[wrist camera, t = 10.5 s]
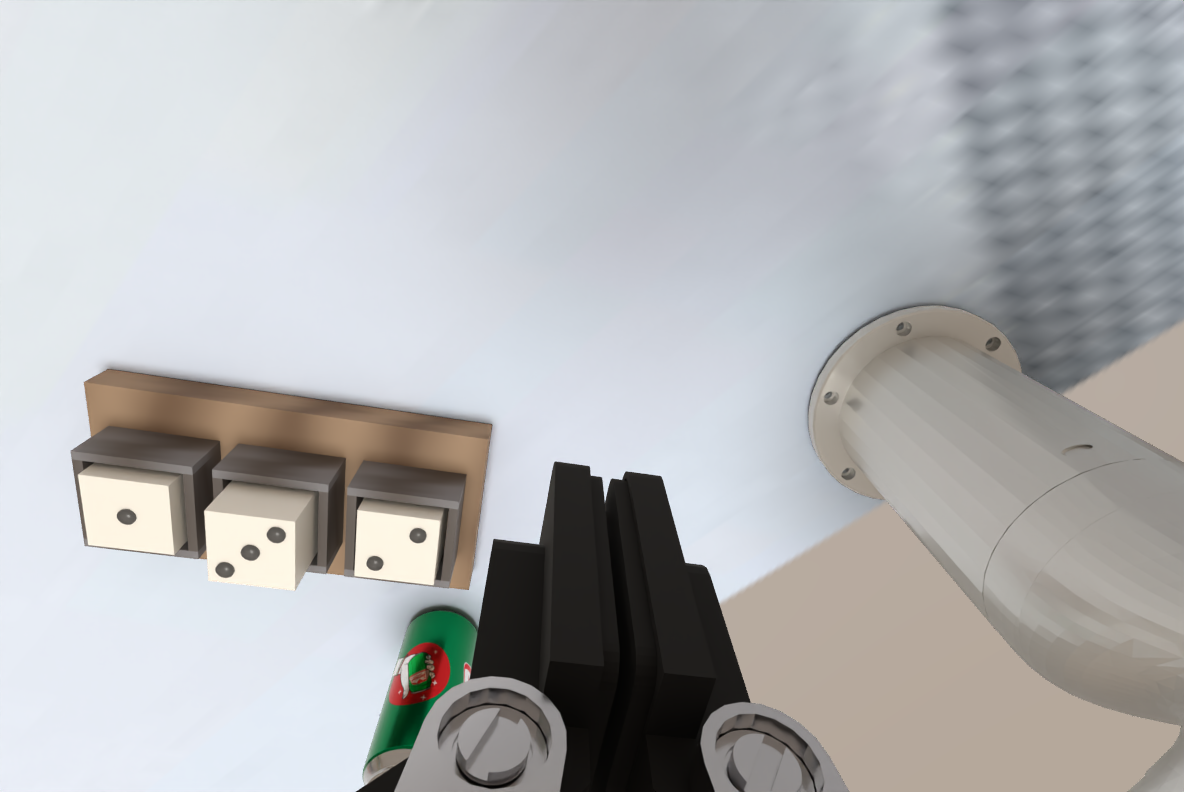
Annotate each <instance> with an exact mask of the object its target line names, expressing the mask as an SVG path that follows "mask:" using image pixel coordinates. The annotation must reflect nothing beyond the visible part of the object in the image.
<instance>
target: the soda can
mask: <svg viewBox="0 0 1184 792" xmlns="http://www.w3.org/2000/svg"><path fill="white" fill-rule="evenodd" d="M476 638H477V631H476V629H475V627H474V626H473V625H472V624H471V622H470V621H469V620H467V619H466V618H465V617H463V616H462V615H460V614H458V613H456V612H452V611H447V610H436V611H431V612H428V613H425V614H422V615H421V616H419V617H417V618H416V619H414V620H413V621H412V622H411V623H410V625H409V626H408V628H407V631H406V634H405V637H404V640H403V643H402V647H401V650H400V653H399V656H398V659H397V663H396V666H395V669H394V672H393V675H392V679H391V682H390V685H389V688H388V692H387V695H386V698H385V701H384V704H383V708H382V711H381V714H380V717H379V721H378V724H377V727H376V730H375V733H374V737H373V740H372V743H371V746H370V750H369V753H368V756H367V759H366V762H365V766H364V769H363V782H364V785H367V784H368V783H370V782H371V781H373V780H374V779H376V778H377V777H379V776H380V775H382V774H383V773H385V772H387V771H388V770H390V769H391V768H393V767H394V766H396V765H397V764H399V763H400V762H402V761H403V760H405V759H406V758H408V757H409V755H410V753H411V751H412V748H413V746H414V744H415V741H416V739H417V736H418V734H419V732H420V729H421V727H422V725H423V722H424V720H425V718H426V716H427V714H428V713H429V711H430V710H431V708H432V707H433V705H434V703H435V702H436V701H437V700H438V699H439V698H440V697H441V696H443V695H444V694H445V693H446V692H447V691H449V690H450V689H451V688H452V687H455V686H457V685H459V684H461V683H464V682H466V681H468V680H469V679H470V673H471V667H472V661H473V656H474V650H475V644H476Z"/></svg>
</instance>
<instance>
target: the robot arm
mask: <svg viewBox="0 0 1184 792" xmlns="http://www.w3.org/2000/svg"><path fill="white" fill-rule="evenodd" d="M899 324H900V326H899V327H898V328H897V326H898V325H899ZM828 392H829V393H828ZM826 393H828V394H827V395H826ZM808 421H809V433H810V437H811V441H812V445H813V448H814V450H815V452H816V454H817V456H818V457H819V459H820V461H821V462H822V464H823V465H824V466H825V468H826V469H827V470H828V472H829V473H830V474H831V475H832V476H833V477H834V478H835V479H836V480H837V481H838V482H839V483H841V484H842V485H844V486H845V487H847V488H849V489H850V490H852V491H854V492H856V493H858V494H861V495H864V496H867V497H870V498H875V499H882V500H886V501H887V502H888V503H889V504H890V506H891V507H892V508H893V509H894V510H895V511H896V513H897V514H898V515H899V516H900V517H901V518H902V520H903V521H904V522H905V523H906V524H907V526H908V527H909V528H910V529H911V530H912V532H913V533H914V534H915V535H916V536H917V537H918V539H919V540H920V541H921V542H922V543H923V545H924V546H925V547H926V548H927V549H928V550H929V552H930V553H931V554H932V555H933V556H934V557H935V559H936V560H937V561H938V562H939V564H940V565H941V566H942V567H943V568H944V569H945V571H946V572H947V573H948V574H949V575H950V576H951V578H952V579H953V580H954V581H955V582H956V584H957V585H958V586H959V587H960V588H961V589H962V591H963V592H964V593H965V594H966V595H967V597H968V598H969V599H970V600H971V601H972V603H973V604H974V605H975V606H976V607H977V608H978V610H979V611H980V612H981V613H982V614H983V616H984V617H985V618H986V619H987V620H988V621H989V623H990V624H991V625H992V626H993V627H994V629H996V630H997V632H998V633H999V634H1000V635H1001V636H1002V637H1003V639H1004V640H1005V641H1006V642H1007V643H1008V644H1009V645H1010V647H1011V648H1012V649H1013V650H1014V651H1015V652H1016V653H1017V655H1018V656H1020V658H1021V659H1022V660H1023V661H1024V662H1025V663H1026V664H1027V665H1029V667H1031V668H1032V669H1033V670H1034V671H1036V672H1037V673H1038V674H1039V675H1041V676H1042V677H1043V678H1045V679H1046V680H1047V681H1049V682H1051V683H1052V684H1054V685H1055V686H1057V687H1059V688H1061V689H1062V690H1064V691H1066V692H1068V693H1069V694H1071V695H1073V696H1076V697H1078V698H1080V699H1083V700H1085V701H1088V702H1091V703H1093V704H1096V705H1099V706H1101V707H1104V708H1107V709H1111V710H1115V711H1118V712H1121V713H1125V714H1129V715H1132V716H1137V717H1141V718H1146V719H1150V720H1155V721H1159V722H1164V723H1169V724H1174V725H1180V726H1181V728H1180V734H1179V736H1178V738H1177V740H1176V741H1175V743H1174V745H1173V746H1172V747H1171V748H1170V749H1169V750H1168V751H1167V752H1166V753H1165V754H1164V755H1163V756H1162V757H1161V758H1160V759H1159V760H1158V761H1157V762H1156V763H1155V764H1154V765H1153V766H1152V767H1151V768H1149V770H1148V771H1147V772H1146V773H1145V777H1143V778H1142V779H1141V780H1140V781H1139V782H1138V783H1137V784H1136V785H1134V786H1133V787H1132V788H1131V789H1130V790H1129V791H1127V792H1184V463H1183V462H1182V461H1180V460H1178V459H1176V458H1174V457H1173V456H1171V455H1169V454H1167V453H1165V452H1163V451H1162V450H1160V449H1158V448H1156V447H1154V446H1153V445H1151V444H1149V443H1147V442H1145V441H1144V440H1142V439H1140V438H1138V437H1136V436H1134V435H1133V434H1131V433H1129V432H1127V431H1125V430H1124V429H1122V428H1120V427H1118V426H1116V425H1115V424H1113V423H1111V422H1109V421H1107V420H1105V419H1104V418H1102V417H1100V416H1098V415H1097V414H1095V413H1093V412H1091V411H1089V410H1087V409H1086V408H1084V407H1082V406H1080V405H1078V404H1077V403H1075V402H1073V401H1071V400H1069V399H1068V398H1066V397H1064V396H1062V395H1060V394H1059V393H1057V392H1055V391H1053V390H1051V389H1049V388H1048V387H1046V386H1044V385H1042V384H1040V383H1039V382H1037V381H1035V380H1033V379H1031V378H1030V377H1028V376H1026V375H1024V374H1022V368H1021V365H1020V362H1019V359H1018V356H1017V353H1016V351H1015V349H1014V348H1013V346H1012V345H1011V343H1010V341H1009V340H1008V338H1007V337H1006V336H1005V335H1004V334H1003V333H1002V332H1001V331H1000V330H999V329H997V328H996V327H995V326H994V325H993V324H991V323H989V322H987V321H986V320H984V319H982V318H980V317H978V316H976V315H974V314H971V313H969V312H967V311H964V310H962V309H958V308H952V307H947V306H918V307H913V308H908V309H903V310H899V311H896V312H894V313H891V314H889V315H886V316H883V317H881V318H879V319H877V320H875V321H873V322H872V323H870V324H868V325H867V326H865V327H863V328H862V329H860V330H859V331H858V332H856V333H855V334H854V335H853V336H852V337H850V338H849V339H848V340H847V341H845V342H844V343H843V344H842V345H841V347H840V348H839V349H838V350H837V351H836V352H835V353H834V355H833V356H832V357H831V358H830V359H829V361H828V362H827V364H826V366H825V367H824V369H823V370H822V372H821V374H820V375H819V377H818V380H817V382H816V385H815V387H814V390H813V392H812V395H811V401H810V406H809V412H808ZM356 792H849V790H848V788H847V787H846V785H845V783H844V781H843V779H842V778H841V776H840V774H839V772H838V771H837V769H836V767H835V765H834V764H833V762H832V760H831V758H830V756H829V755H828V754H827V752H826V751H825V750H824V748H823V747H822V746H821V744H820V743H819V741H818V740H817V738H815V737H814V736H813V735H812V734H811V733H810V732H809V731H808V730H807V729H805V727H803V726H802V725H801V724H800V723H799V722H797V721H796V720H794V719H792V718H791V717H789V716H787V715H786V714H784V713H783V712H781V711H778V710H776V709H773V708H770V707H767V706H765V705H762V704H755V703H750V699H749V696H748V693H747V690H746V687H745V683H744V680H743V677H742V674H741V671H740V668H739V665H738V662H737V658H736V655H735V652H734V649H733V646H732V643H731V639H730V637H729V634H728V630H727V627H726V624H725V621H724V617H723V614H722V611H721V608H720V605H719V602H718V599H717V595H716V592H715V589H714V586H713V583H712V580H711V577H710V574H709V572H708V570H707V568H706V567H705V566H703V565H697V564H689V563H685V561H684V557H683V553H682V549H681V546H680V542H679V538H678V535H677V531H676V527H675V524H674V520H673V516H672V513H671V509H670V505H669V501H668V498H667V494H666V490H665V487H664V483H663V480H662V477H661V476H655V475H648V474H641V473H634V472H627V471H626V472H625V474H624V476H623V479H622V480H618V479H611V481H610V484H609V488H608V492H607V497H606V501H604V491H603V481H602V477H596V476H591V475H590V467H589V466H584V465H577V464H570V463H562V462H554V466H553V470H552V476H551V481H550V487H549V492H548V498H547V504H546V509H545V515H544V520H543V526H542V532H541V537H540V543H539V545H538V544H530V543H522V542H514V541H506V540H498V539H494V540H493V545H492V551H491V557H490V562H489V568H488V574H487V580H486V586H485V592H484V597H483V603H482V609H481V615H480V621H479V627H478V632H477V638H476V644H475V650H474V656H473V661H472V667H471V673H470V679H469V680H468V681H466V682H464V683H461V684H459V685H457V686H455V687H452V688H451V689H450V690H449V691H447V692H446V693H445V694H444V695H443V696H441V697H440V698H439V699H438V700H437V701H436V702H435V703H434V705H433V707H432V708H431V710H430V711H429V713H428V714H427V716H426V718H425V720H424V722H423V725H422V727H421V729H420V732H419V734H418V736H417V739H416V741H415V744H414V746H413V748H412V751H411V753H410V755H409V757H408V758H406V759H405V760H403V761H402V762H400V763H399V764H397V765H396V766H394V767H393V768H391V769H390V770H388V771H387V772H385V773H383V774H382V775H380V776H379V777H377V778H376V779H374V780H373V781H371V782H370V783H368V784H367V785H365V786H364V787H362V788H361V789H359V790H358V791H356Z"/></svg>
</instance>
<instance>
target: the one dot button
mask: <svg viewBox="0 0 1184 792" xmlns="http://www.w3.org/2000/svg"><path fill="white" fill-rule="evenodd" d="M78 479H79V486H80V493H81V499H82V506H83V513H84V520H85V526H86V533H87V540H88V545H93V546H101V547H110V548H118V549H127V550H135V551H144V552H152V553H161V554H170V555H175V554H176V553H177V551H178V550H179V549H180V548H181V547H182V546H183V545H184V544H185V543H186V541H187V540H188V536H187V523H186V509H185V496H184V483H183V474H181V473H173V472H165V471H157V470H150V469H142V468H134V467H127V466H119V465H111V464H103V463H96V462H94V463H93V464H92V465H90V466H89V467H88V468H86V469H85V470H83V471H82V472H81V473H79V474H78Z"/></svg>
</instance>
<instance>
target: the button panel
mask: <svg viewBox="0 0 1184 792" xmlns="http://www.w3.org/2000/svg"><path fill="white" fill-rule="evenodd" d="M84 386H85V394H86V401H87V409H88V416H89V423H90V431H91V438H89V439H88V440H86V441H85V442H83V443H82V444H80V445H79V446H77V447H76V448H74V449H73V450H71V457H72V464H73V470H74V477H75V484H76V490H77V497H78V504H79V510H80V517H81V524H82V530H83V537H84V544H85V546H90V547H99V548H107V549H116V550H124V551H133V552H141V553H150V554H158V555H167V556H176V557H184V558H193V559H199V558H200V559H207V547H206V531H205V515H204V510H205V509H206V508H207V507H208V506H209V505H210V504H211V503H212V502H213V500H214V499H215V498H216V497H217V496H218V495H219V494H220V493H221V492H222V491H223V490H224V489H225V488H226V486H227V485H228V484H229V483H230V482H231V481H232V480H235V481H242V482H250V483H258V484H265V485H273V486H281V487H288V488H296V489H304V490H312V491H319V504H318V552H317V553H316V555H315V557H314V559H313V560H312V562H311V564H310V565H309V567H308V569H307V571H306V572H313V573H321V574H326V573H328V574H337V575H344V576H347V577H355V578H364V579H373V580H381V581H390V582H398V583H407V584H415V585H424V586H432V587H441V588H457V589H465V590H469V586H470V581H471V576H472V571H473V564H474V557H475V549H476V542H477V534H478V527H479V519H480V512H481V504H482V497H483V489H484V482H485V474H486V467H487V459H488V452H489V444H490V437H491V429H492V424H485V423H478V422H471V421H464V420H457V419H450V418H443V417H436V416H429V415H422V414H415V413H408V412H402V411H395V410H388V409H381V408H374V407H367V406H360V405H353V404H346V403H339V402H332V401H325V400H318V399H311V398H305V397H298V396H291V395H284V394H277V393H270V392H263V391H256V390H249V389H242V388H235V387H228V386H221V385H214V384H207V383H201V382H194V381H187V380H180V379H173V378H166V377H159V376H152V375H145V374H138V373H131V372H124V371H117V370H110V369H107V370H105V371H104V372H102V373H100V374H98V375H96V376H94V377H93V378H91V379H89V380H87V381H85V382H84ZM94 462H96V463H103V464H111V465H119V466H127V467H134V468H142V469H150V470H157V471H165V472H173V473H181V474H183V483H184V496H185V509H186V523H187V536H188V540H187V541H186V543H185V544H184V545H183V546H182V547H181V548H180V549H179V550H178V551H177V553H176V554H175V555H170V554H161V553H152V552H144V551H135V550H127V549H118V548H110V547H101V546H93V545H88V540H87V533H86V526H85V520H84V513H83V506H82V499H81V493H80V486H79V479H78V474H79V473H81V472H82V471H83V470H85V469H86V468H88V467H89V466H90V465H92V464H93V463H94ZM364 497H366V498H373V499H381V500H389V501H396V502H404V503H412V504H420V505H427V506H435V507H443V508H449V509H448V518H447V527H446V536H445V546H444V550H443V554H442V557H441V561H440V565H439V568H438V572H437V575H436V579H435V582H434V585H426V584H418V583H409V582H401V581H392V580H384V579H375V578H366V577H358V576H354V573H355V552H356V530H357V510H358V508H359V506H360V504H361V503H362V501H363V499H364Z"/></svg>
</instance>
